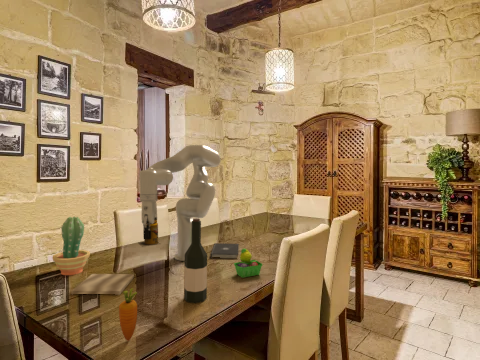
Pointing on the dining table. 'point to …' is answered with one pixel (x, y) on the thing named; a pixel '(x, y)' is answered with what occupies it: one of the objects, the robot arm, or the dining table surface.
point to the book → (225, 250)
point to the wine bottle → (195, 267)
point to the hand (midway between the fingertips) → (149, 236)
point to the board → (103, 284)
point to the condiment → (152, 235)
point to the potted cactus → (71, 248)
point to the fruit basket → (247, 265)
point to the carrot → (128, 315)
